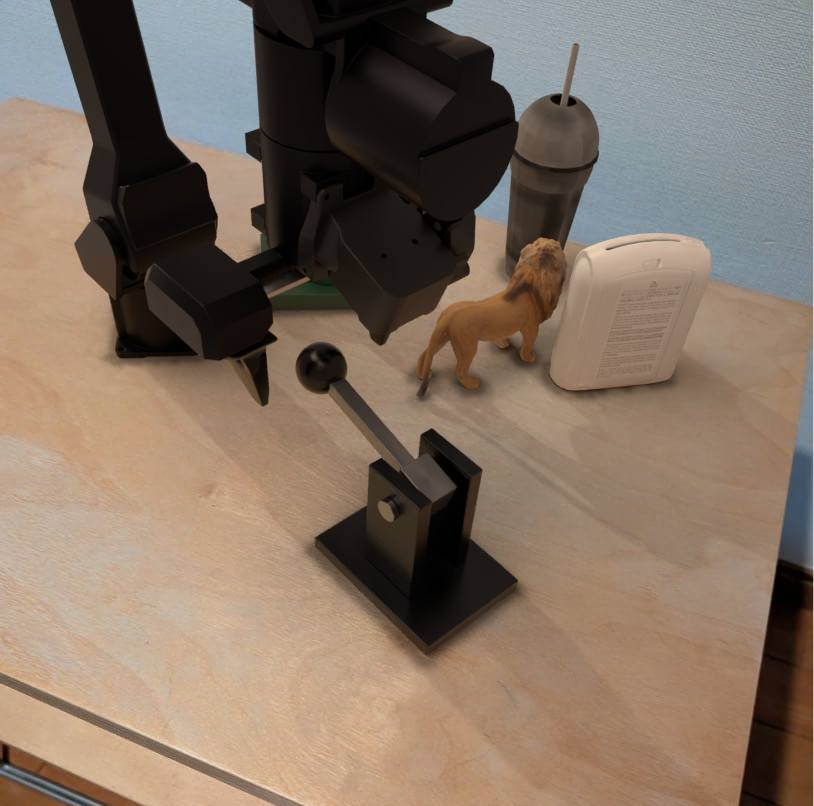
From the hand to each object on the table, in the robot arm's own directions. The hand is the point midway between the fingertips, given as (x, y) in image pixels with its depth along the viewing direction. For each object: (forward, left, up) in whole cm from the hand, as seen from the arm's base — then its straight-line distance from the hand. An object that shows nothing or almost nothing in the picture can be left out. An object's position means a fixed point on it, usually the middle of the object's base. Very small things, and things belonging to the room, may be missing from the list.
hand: (321, 371), depth 56 cm
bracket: (+6, -8, -10) cm, 14 cm away
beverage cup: (+20, +25, -10) cm, 34 cm away
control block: (+2, +24, -10) cm, 26 cm away
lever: (+3, -4, -2) cm, 5 cm away
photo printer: (+24, +11, -10) cm, 28 cm away
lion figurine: (+14, +13, -10) cm, 22 cm away
